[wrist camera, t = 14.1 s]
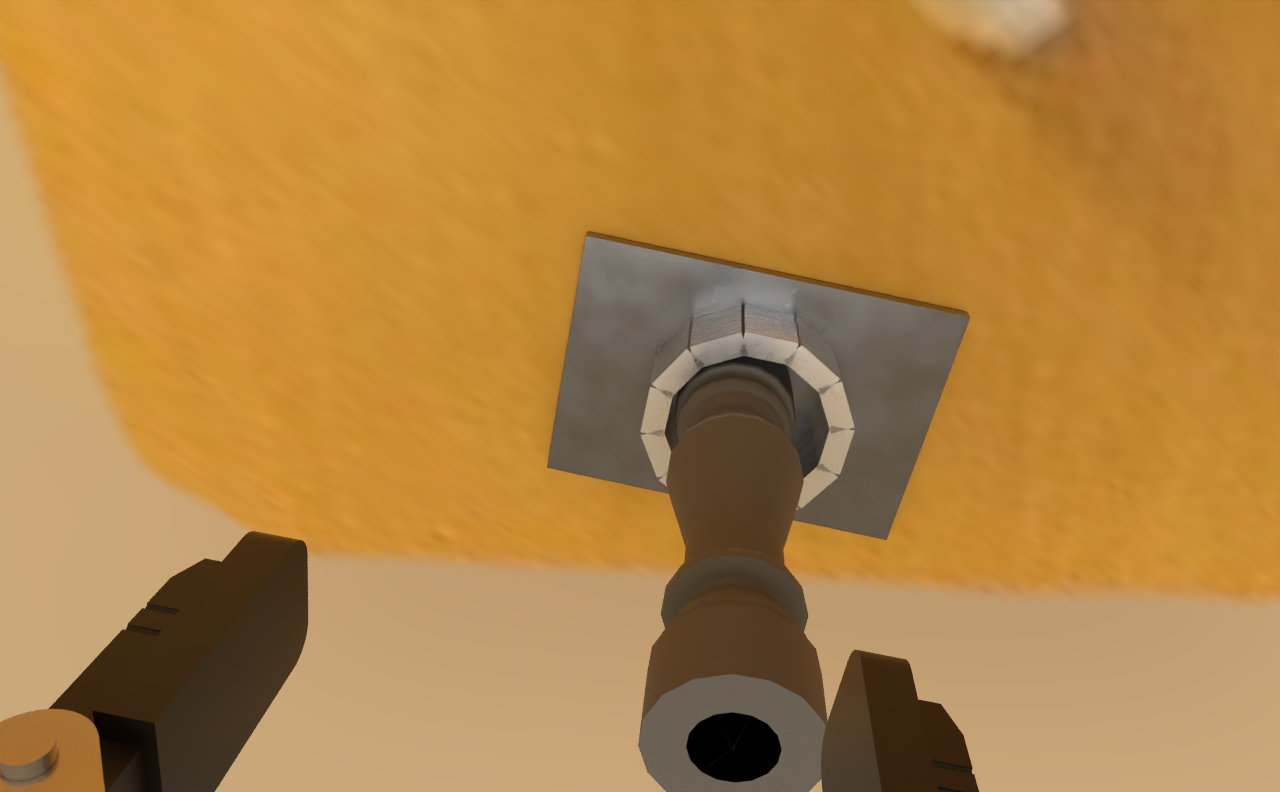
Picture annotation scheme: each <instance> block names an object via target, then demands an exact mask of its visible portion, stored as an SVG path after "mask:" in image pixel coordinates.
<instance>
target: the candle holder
mask: <svg viewBox="0 0 1280 792" xmlns="http://www.w3.org/2000/svg"><path fill="white" fill-rule="evenodd" d="M795 419H796V413H795V405H794V398H793V390H792V385H791V380H790V376H789V371H788V369H787V367H786V366H785V365H784V364H781V363H776V362H772V361H767V360H762V359H757V358H753V357H748V356H741V357H737V358H734V359H730V360H727V361H723V362H719V363H716V364H712V365H709V366H705V367H702V368H701V369H700V370H699V371H698V372H697V373H696V374H695V375H694V376H693V377H692V378H691V379H690V380H689V381H688V382H687V383H686V384H685V385H684V386H683V387H682V388H681V389H679V390H678V391H677V398H676V406H675V413H674V420H675V424H676V428H677V433H678V437H679V442H678V444H677V445H676V446H675V448H674V449H673V451H672V452H671V455H670V461H669V466H668V472H667V478H666V484H667V488H668V491H669V495H670V498H671V502H672V505H673V509H674V512H675V515H676V518H677V521H678V524H679V527H680V530H681V534H682V537H683V540H684V544H685V547H686V550H685V561H684V564H682V566H681V567H680V568H679V569H678V571H677V572H676V573H675V575H674V576H673V577H672V579H671V580H670V581H669V583H668V584H667V585H666V589H665V594H664V600H663V605H662V610H661V616H662V619H663V623H664V626H665V630H664V631H663V632H662V635H661V636H660V637H659V638H658V640H657V641H656V642H655V643H654V645H653V646H652V650H651V656H650V661H649V666H648V672H647V679H646V687H645V696H644V704H643V712H642V720H641V728H640V737H639V744H638V746H639V748H640V752H641V754H642V757H643V760H644V763H645V766H646V769H647V772H648V773H649V774H650V775H651V776H652V777H653V778H654V779H655V780H656V781H657V782H658V783H659V784H660V786H661V787H663V789H664V790H665V791H666V792H809V791H810V790H811V789H812V788H813V787H814V786H815V785H816V784H817V783H818V782H819V781H820V780H821V752H822V744H823V738H824V733H825V728H826V725H827V713H826V705H825V697H824V689H823V681H822V674H821V669H820V665H819V661H818V656H817V652H816V649H815V648H814V646H813V645H812V644H811V643H810V641H809V640H808V639H807V637H806V635H805V634H804V629H805V626H806V622H807V619H808V612H807V607H806V603H805V598H804V594H803V589H802V586H801V585H800V584H799V582H798V581H797V580H796V579H795V577H794V576H793V575H792V574H791V573H790V571H789V570H788V569H787V568H786V566H785V565H784V553H783V549H784V546H785V543H786V540H787V536H788V533H789V530H790V527H791V524H792V521H793V518H794V515H795V512H796V509H797V506H798V503H799V499H800V495H801V491H802V487H803V483H804V480H803V473H802V469H801V464H800V459H799V455H798V452H797V450H796V449H795V448H794V446H793V445H792V444H791V442H790V440H791V435H792V431H793V427H794V423H795Z"/></svg>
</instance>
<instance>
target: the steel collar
mask: <svg viewBox="0 0 1280 792" xmlns="http://www.w3.org/2000/svg"><path fill="white" fill-rule="evenodd" d="M969 319H970V316H969V315H968V313H967V312H965V311H960V310H955V309H951V308H946V307H941V306H936V305H932V304H927V303H922V302H918V301H913V300H908V299H903V298H899V297H894V296H889V295H885V294H880V293H875V292H871V291H866V290H861V289H856V288H852V287H847V286H842V285H838V284H833V283H828V282H823V281H819V280H814V279H809V278H805V277H800V276H795V275H790V274H786V273H781V272H776V271H772V270H767V269H762V268H757V267H753V266H748V265H743V264H739V263H734V262H729V261H724V260H720V259H715V258H710V257H706V256H701V255H696V254H692V253H687V252H682V251H677V250H673V249H668V248H663V247H659V246H654V245H649V244H644V243H640V242H635V241H630V240H626V239H621V238H616V237H611V236H607V235H602V234H597V233H593V232H588V233H587V235H586V238H585V244H584V250H583V256H582V262H581V268H580V274H579V280H578V286H577V292H576V298H575V304H574V310H573V316H572V322H571V328H570V334H569V340H568V346H567V352H566V358H565V364H564V370H563V376H562V382H561V387H560V393H559V399H558V405H557V411H556V417H555V423H554V429H553V435H552V441H551V447H550V453H549V459H548V465H547V468H551V469H556V470H560V471H565V472H570V473H574V474H579V475H584V476H588V477H593V478H598V479H603V480H607V481H612V482H617V483H621V484H626V485H631V486H635V487H640V488H645V489H649V490H654V491H659V492H664V493H668V494H669V491H668V488H667V484H666V478H667V472H668V466H669V461H670V455H671V452H672V451H673V449H674V448H675V446H676V445H677V444H678V442H679V437H678V433H677V428H676V424H675V420H674V413H675V406H676V398H677V391H678V390H679V389H681V388H682V387H683V386H684V385H685V384H686V383H687V382H688V381H689V380H690V379H691V378H692V377H693V376H694V375H695V374H696V373H697V372H698V371H699V370H700V369H701V368H702V367H705V366H709V365H712V364H716V363H719V362H723V361H727V360H730V359H734V358H737V357H741V356H748V357H753V358H757V359H762V360H767V361H772V362H776V363H781V364H784V365H785V366H786V367H787V369H788V371H789V376H790V380H791V385H792V390H793V398H794V405H795V413H796V419H795V423H794V427H793V431H792V435H791V440H790V442H791V444H792V445H793V446H794V448H795V449H796V450H797V452H798V455H799V459H800V464H801V469H802V473H803V480H804V483H803V487H802V491H801V495H800V499H799V503H798V506H797V509H796V512H795V515H794V518H793V520H795V521H800V522H804V523H809V524H814V525H818V526H823V527H828V528H833V529H837V530H842V531H847V532H851V533H856V534H861V535H865V536H870V537H875V538H880V539H884V540H887V537H888V534H889V532H890V529H891V526H892V524H893V521H894V518H895V516H896V513H897V510H898V508H899V505H900V502H901V500H902V497H903V494H904V492H905V489H906V487H907V484H908V481H909V479H910V476H911V473H912V471H913V468H914V465H915V463H916V460H917V457H918V455H919V452H920V449H921V447H922V444H923V441H924V439H925V436H926V433H927V431H928V428H929V425H930V423H931V420H932V417H933V415H934V412H935V409H936V407H937V404H938V401H939V399H940V396H941V393H942V391H943V388H944V385H945V383H946V380H947V377H948V375H949V372H950V369H951V367H952V364H953V361H954V359H955V356H956V353H957V351H958V348H959V345H960V343H961V340H962V337H963V335H964V332H965V329H966V327H967V324H968V321H969Z"/></svg>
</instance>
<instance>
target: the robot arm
mask: <svg viewBox="0 0 1280 792" xmlns="http://www.w3.org/2000/svg"><path fill="white" fill-rule="evenodd" d="M307 628H308V564H307V547H306V544H305V543H304V541H302V540H297V539H291V538H286V537H281V536H276V535H271V534H266V533H261V532H255V531H251V532H249V533H247V534H246V535H245V536H244V537H243V538H242V539H241V540H240V542H239V543H238V544H237V545H236V546H235V547H234V548H233V550H232V551H231V552H230V553H229V554H228V555H227V557H226V558H225V559H224V560H223V561H222V562H220V561H215V560H210V559H204V560H202V561H200V562H198V563H196V564H195V565H193V566H191V567H189V568H187V569H186V570H184V571H182V572H180V573H178V574H177V575H175V576H173V577H171V578H170V579H169V580H168V581H167V582H166V584H165V585H164V586H163V587H162V588H161V589H160V590H159V591H158V592H157V593H156V594H155V596H153V597H152V598H151V599H150V601H149V602H148V603H147V606H146V608H145V609H143V608H142V609H141V610H140V611H139V613H137V615H136V616H135V617H134V618H133V619H132V620H131V621H130V622H129V623H128V626H127V629H126V630H122V631H121V632H120V633H119V634H118V635H117V636H116V637H115V638H114V639H113V640H112V641H111V643H110V644H109V645H108V646H107V647H106V648H105V649H104V650H103V651H102V652H101V653H100V654H99V655H98V656H97V658H96V659H95V660H94V661H93V662H92V663H91V664H90V665H89V666H88V667H87V668H86V669H85V670H84V671H83V673H82V674H81V675H80V676H79V677H78V678H77V679H76V680H75V681H74V682H73V683H72V684H71V685H70V687H69V688H68V689H67V690H66V691H65V692H64V693H63V694H62V695H61V696H60V697H59V698H58V699H57V701H56V702H55V703H54V704H53V705H52V706H51V707H50V708H49V709H45V710H36V711H31V712H26V713H23V714H19V715H16V716H13V717H11V718H8V719H6V720H3V721H2V722H0V792H215V790H216V788H217V787H218V786H219V784H220V782H221V781H222V779H223V778H224V776H225V775H226V773H227V772H228V770H229V768H230V767H231V765H232V764H233V762H234V761H235V759H236V758H237V756H238V754H239V753H240V751H241V750H242V748H243V747H244V745H245V743H246V742H247V740H248V739H249V737H250V736H251V734H252V733H253V731H254V729H255V728H256V726H257V725H258V723H259V722H260V720H261V718H262V717H263V715H264V714H265V712H266V711H267V709H268V707H269V706H270V704H271V703H272V701H273V700H274V698H275V697H276V695H277V693H278V692H279V690H280V689H281V687H282V686H283V684H284V682H285V681H286V679H287V678H288V676H289V675H290V673H291V672H292V670H293V668H294V667H295V665H296V663H297V661H298V659H299V657H300V654H301V652H302V649H303V646H304V643H305V639H306V634H307ZM821 779H822V789H823V792H979V790H978V787H977V783H976V779H975V776H974V774H972V765H971V761H970V758H969V754H968V750H967V747H966V743H965V739H964V736H963V734H962V733H961V731H960V730H959V729H958V727H957V726H956V724H955V723H954V722H953V720H952V719H951V717H950V716H949V715H948V713H947V712H946V711H945V709H944V708H943V706H942V705H941V704H937V703H933V702H928V701H923V700H918V697H917V693H916V688H915V684H914V680H913V675H912V671H911V667H910V664H909V663H908V661H907V660H905V659H900V658H895V657H891V656H885V655H880V654H875V653H870V652H865V651H860V650H854V651H853V652H852V653H851V655H850V657H849V660H848V662H847V665H846V669H845V671H844V674H843V677H842V681H841V683H840V686H839V689H838V692H837V695H836V698H835V701H834V704H833V707H832V710H831V713H830V716H829V719H828V722H827V725H826V728H825V733H824V738H823V744H822V752H821Z"/></svg>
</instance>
